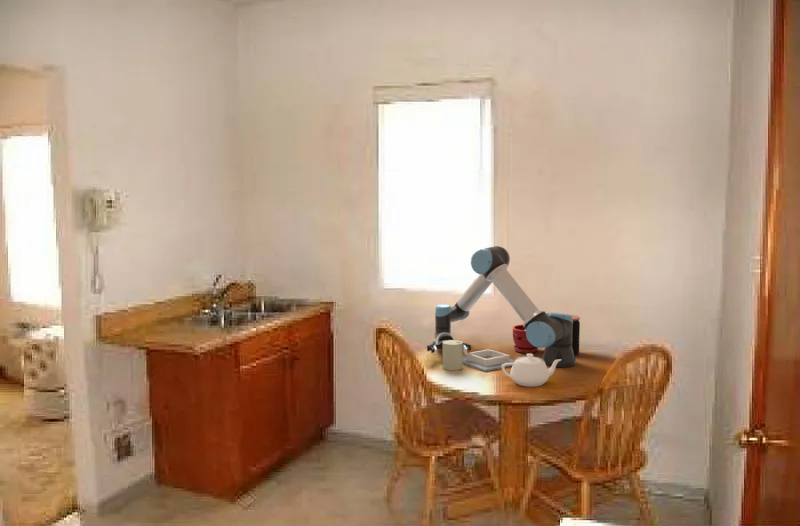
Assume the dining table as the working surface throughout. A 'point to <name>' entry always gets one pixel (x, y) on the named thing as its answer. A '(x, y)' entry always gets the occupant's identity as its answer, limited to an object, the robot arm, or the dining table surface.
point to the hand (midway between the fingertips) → (451, 352)
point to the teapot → (530, 370)
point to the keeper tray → (487, 360)
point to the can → (452, 354)
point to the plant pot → (522, 340)
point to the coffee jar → (575, 334)
